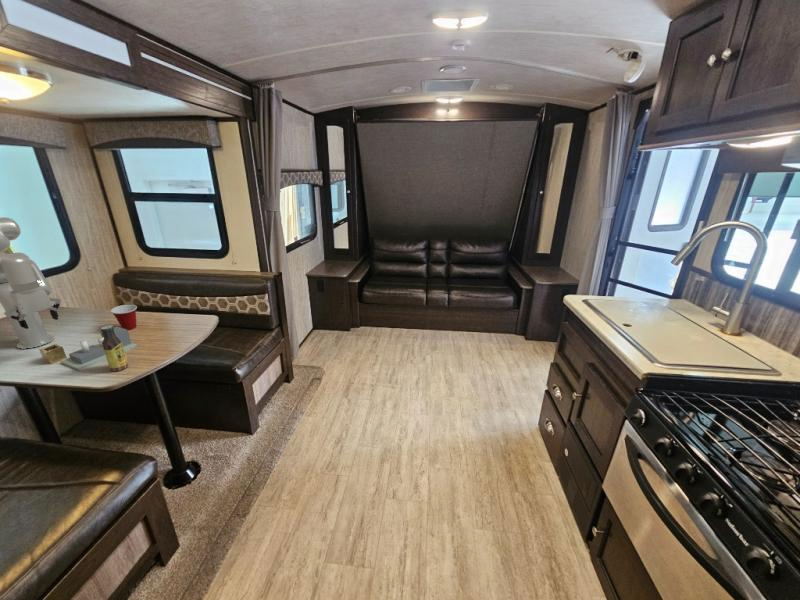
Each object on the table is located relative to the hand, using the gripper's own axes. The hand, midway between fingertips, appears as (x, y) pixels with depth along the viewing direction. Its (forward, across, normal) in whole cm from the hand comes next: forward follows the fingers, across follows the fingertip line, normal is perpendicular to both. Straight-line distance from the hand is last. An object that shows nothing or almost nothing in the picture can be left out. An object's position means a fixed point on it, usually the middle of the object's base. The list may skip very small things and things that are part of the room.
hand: (41, 323), depth 141 cm
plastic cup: (+19, -33, -4) cm, 38 cm away
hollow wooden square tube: (+18, 0, 0) cm, 18 cm away
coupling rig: (+18, -11, +13) cm, 25 cm away
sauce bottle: (+18, -8, +33) cm, 38 cm away
